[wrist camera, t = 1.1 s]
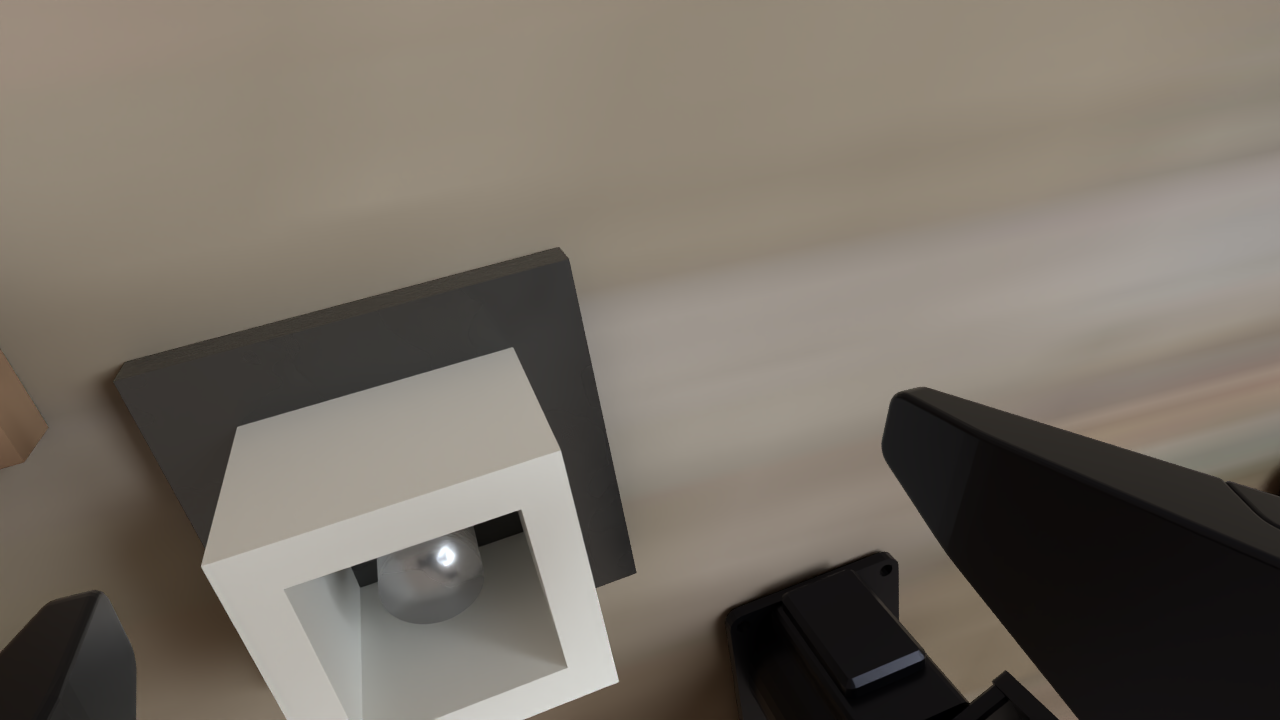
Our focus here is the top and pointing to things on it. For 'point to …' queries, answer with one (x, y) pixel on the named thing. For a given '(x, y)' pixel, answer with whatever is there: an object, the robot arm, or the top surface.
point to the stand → (383, 353)
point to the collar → (397, 519)
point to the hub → (17, 418)
